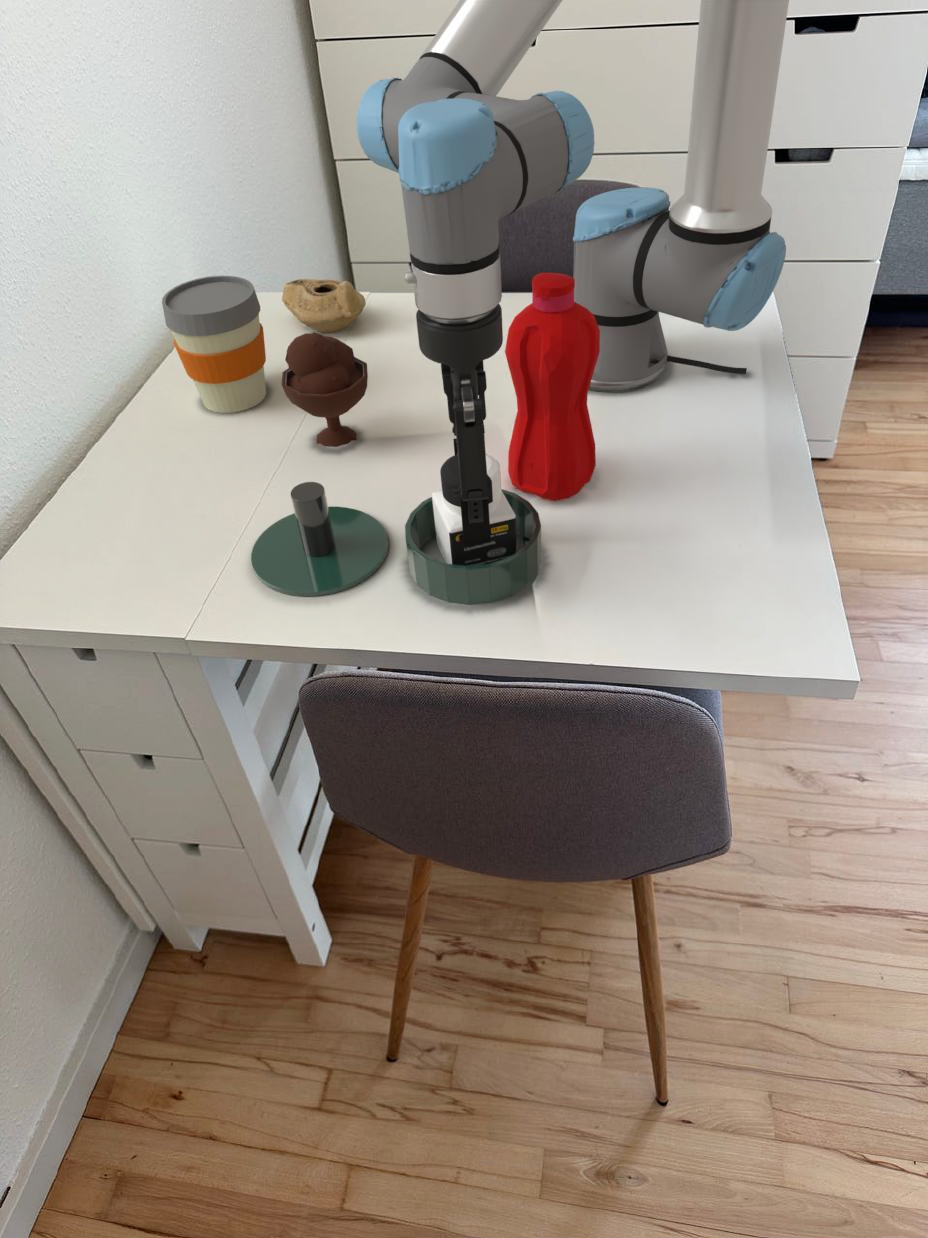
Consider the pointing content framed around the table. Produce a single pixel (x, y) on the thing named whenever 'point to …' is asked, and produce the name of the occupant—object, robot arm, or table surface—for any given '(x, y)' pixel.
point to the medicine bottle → (451, 519)
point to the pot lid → (318, 546)
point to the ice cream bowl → (325, 382)
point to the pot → (478, 579)
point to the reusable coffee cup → (219, 340)
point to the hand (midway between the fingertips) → (473, 515)
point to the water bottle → (552, 390)
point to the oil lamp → (323, 303)
